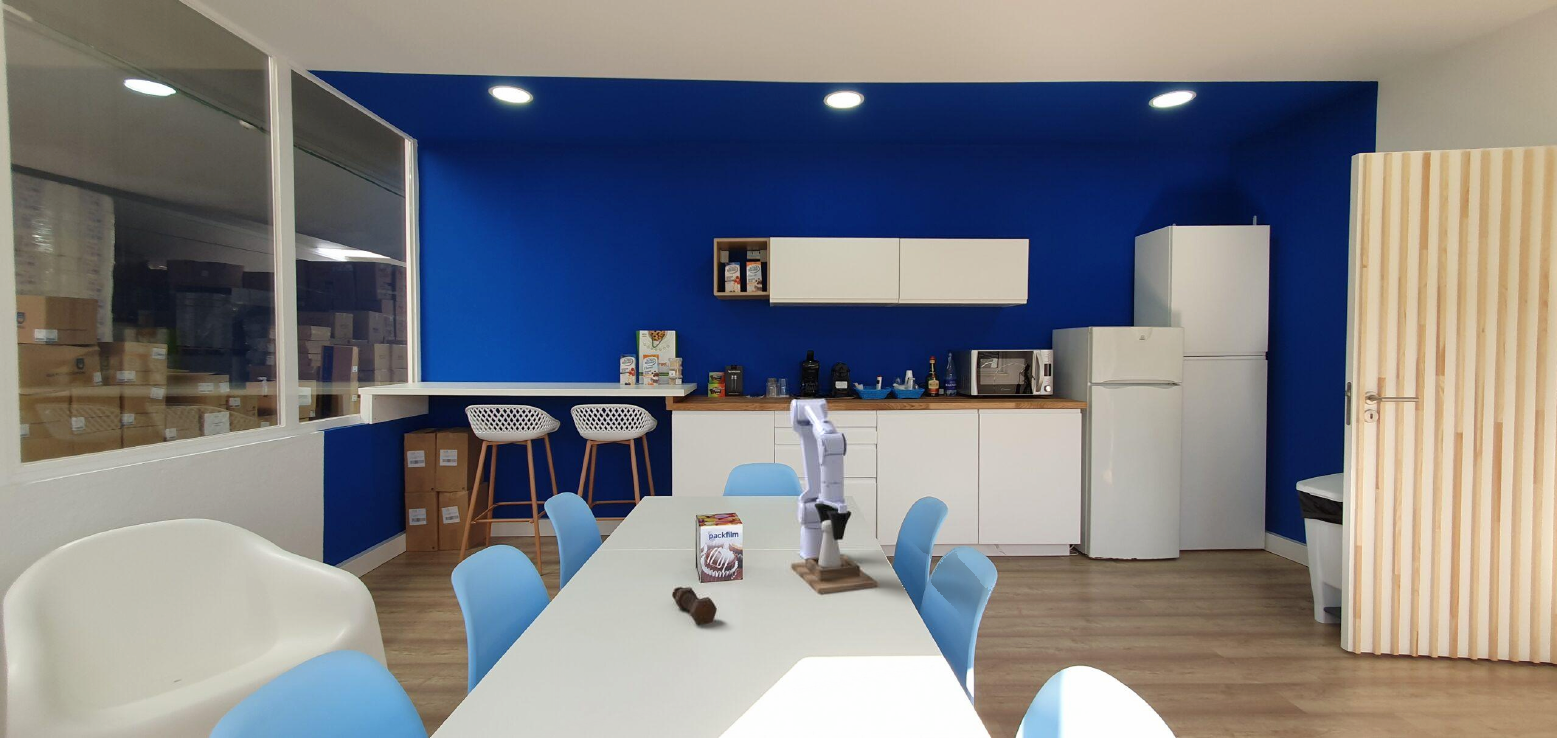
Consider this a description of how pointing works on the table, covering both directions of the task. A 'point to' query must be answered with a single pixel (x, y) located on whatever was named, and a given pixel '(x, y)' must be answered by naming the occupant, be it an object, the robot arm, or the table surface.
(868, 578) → the socket board
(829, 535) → the salt shaker
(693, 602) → the bolt
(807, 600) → the table surface
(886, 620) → the table surface
